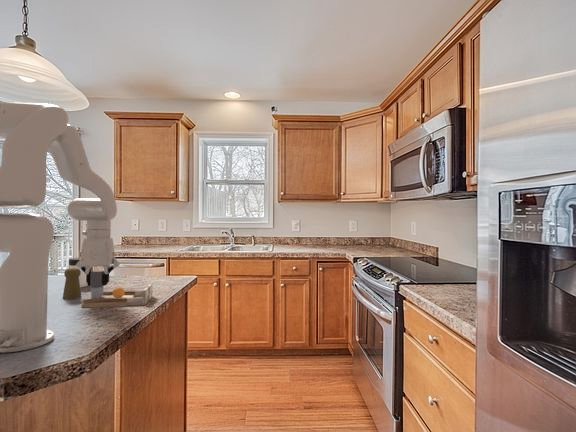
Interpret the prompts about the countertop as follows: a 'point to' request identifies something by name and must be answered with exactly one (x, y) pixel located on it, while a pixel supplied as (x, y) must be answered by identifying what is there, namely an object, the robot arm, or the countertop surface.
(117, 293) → the ball
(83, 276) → the jar
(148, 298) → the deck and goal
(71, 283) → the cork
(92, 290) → the grey stepped block
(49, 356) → the countertop surface
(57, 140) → the robot arm
